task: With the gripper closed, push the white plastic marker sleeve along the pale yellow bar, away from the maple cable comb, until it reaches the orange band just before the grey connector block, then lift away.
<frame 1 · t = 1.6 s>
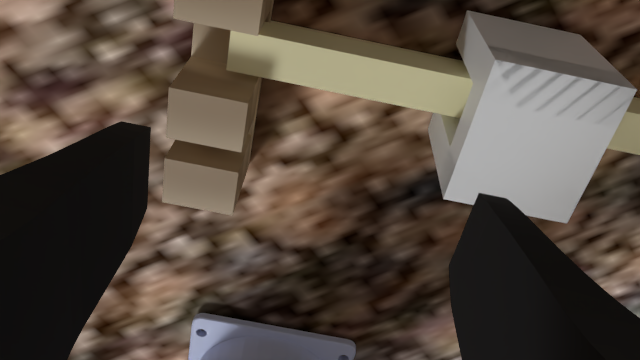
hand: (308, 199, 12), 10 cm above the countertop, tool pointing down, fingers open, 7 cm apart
sleeve: (515, 112, 19), point 3 cm above the countertop, slide at 0.0 cm
comb: (234, 26, 21), on the countertop
pale yellow bar: (551, 93, 21), on the countertop
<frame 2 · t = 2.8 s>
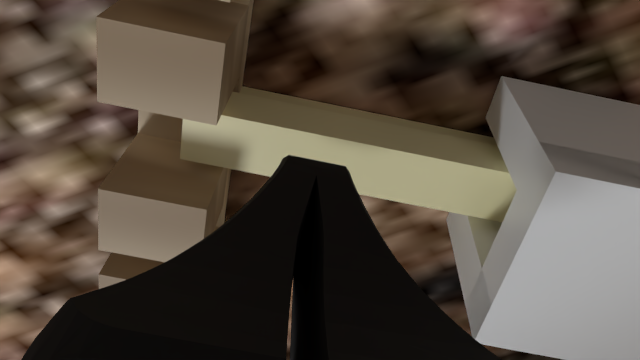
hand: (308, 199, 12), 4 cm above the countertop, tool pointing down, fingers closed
sleeve: (568, 217, 14), point 3 cm above the countertop, slide at 0.0 cm
comb: (194, 93, 16), on the countertop
pale yellow bar: (607, 177, 16), on the countertop
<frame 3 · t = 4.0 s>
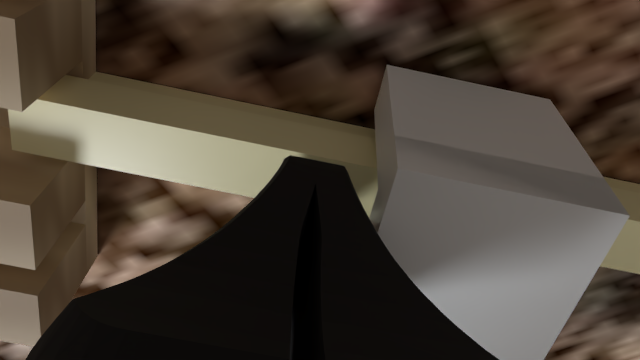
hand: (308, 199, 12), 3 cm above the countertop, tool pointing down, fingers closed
sleeve: (452, 218, 13), point 3 cm above the countertop, slide at 0.4 cm, touching gripper
comb: (46, 79, 15), on the countertop
pale yellow bar: (497, 172, 15), on the countertop
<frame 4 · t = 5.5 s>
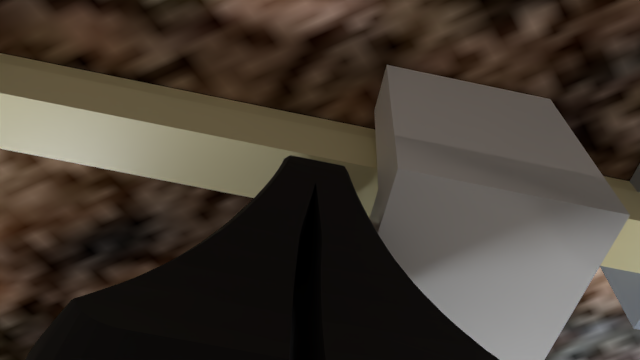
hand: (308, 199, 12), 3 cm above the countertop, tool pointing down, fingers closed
sleeve: (452, 218, 13), point 3 cm above the countertop, slide at 7.4 cm, touching gripper
pale yellow bar: (232, 118, 15), on the countertop
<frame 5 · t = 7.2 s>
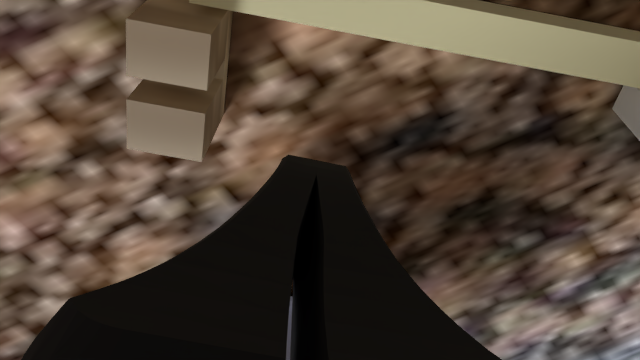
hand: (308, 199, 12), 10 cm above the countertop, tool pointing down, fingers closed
pale yellow bar: (540, 27, 20), on the countertop
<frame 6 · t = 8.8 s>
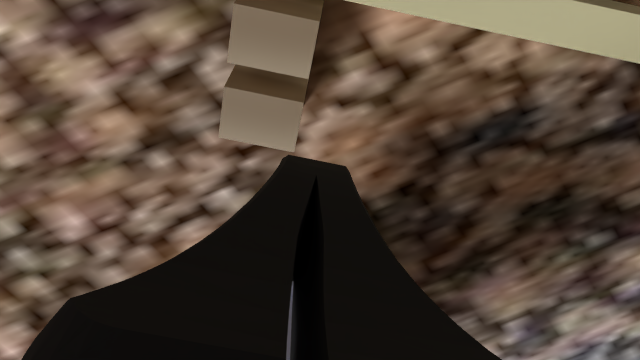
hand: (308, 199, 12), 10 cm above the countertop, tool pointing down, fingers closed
pale yellow bar: (635, 23, 20), on the countertop
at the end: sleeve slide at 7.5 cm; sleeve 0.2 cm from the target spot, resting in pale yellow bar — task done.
